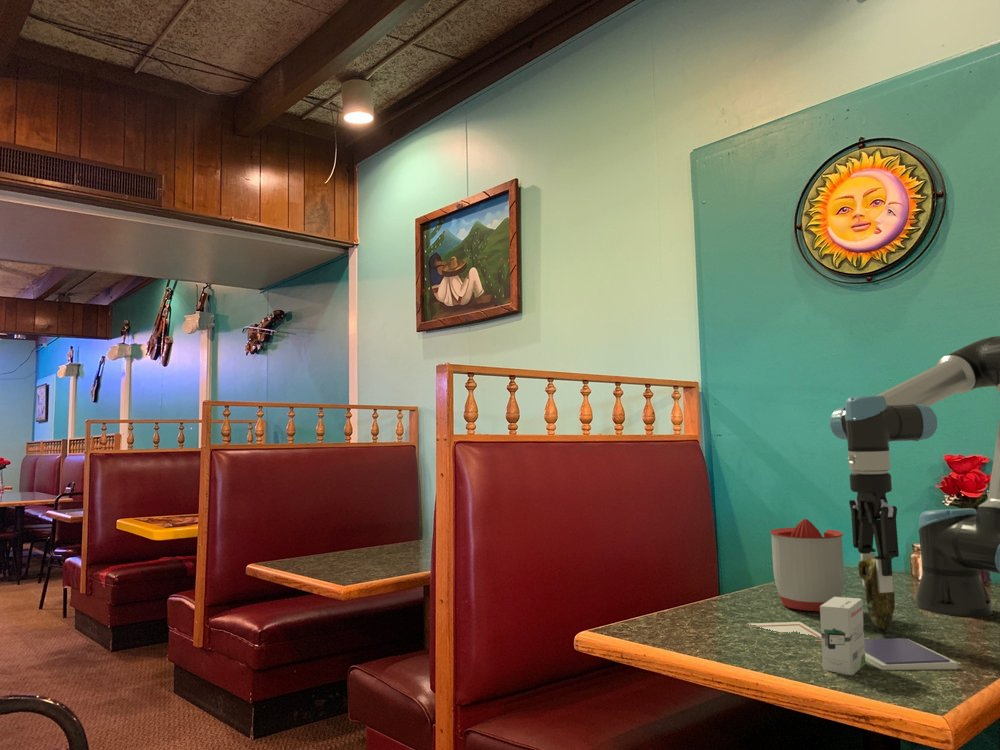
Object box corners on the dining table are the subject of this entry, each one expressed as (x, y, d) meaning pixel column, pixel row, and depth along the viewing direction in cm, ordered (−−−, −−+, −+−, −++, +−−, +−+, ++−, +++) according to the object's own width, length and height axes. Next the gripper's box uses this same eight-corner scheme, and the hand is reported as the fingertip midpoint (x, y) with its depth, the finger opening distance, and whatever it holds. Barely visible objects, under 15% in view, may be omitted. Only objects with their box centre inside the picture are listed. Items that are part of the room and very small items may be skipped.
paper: (799, 623, 155) (799, 621, 155) (837, 645, 139) (837, 643, 139) (725, 625, 155) (725, 623, 155) (754, 648, 139) (754, 646, 139)
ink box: (836, 662, 130) (833, 594, 131) (867, 668, 127) (863, 598, 128) (821, 676, 123) (817, 604, 124) (853, 682, 120) (849, 608, 121)
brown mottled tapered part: (881, 640, 142) (872, 561, 144) (856, 636, 146) (847, 559, 147) (899, 628, 149) (890, 553, 150) (874, 625, 152) (866, 551, 153)
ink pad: (908, 646, 138) (907, 637, 138) (957, 671, 124) (957, 660, 124) (840, 648, 137) (840, 639, 138) (882, 673, 123) (881, 663, 124)
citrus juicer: (857, 602, 171) (852, 516, 173) (836, 619, 158) (830, 524, 159) (789, 594, 181) (785, 512, 183) (763, 608, 168) (759, 520, 169)
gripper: (829, 470, 158) (837, 580, 156) (876, 475, 140) (884, 600, 139) (864, 468, 158) (871, 578, 157) (914, 474, 140) (923, 598, 139)
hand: (877, 588), depth 148 cm, fingers open, 5 cm apart
